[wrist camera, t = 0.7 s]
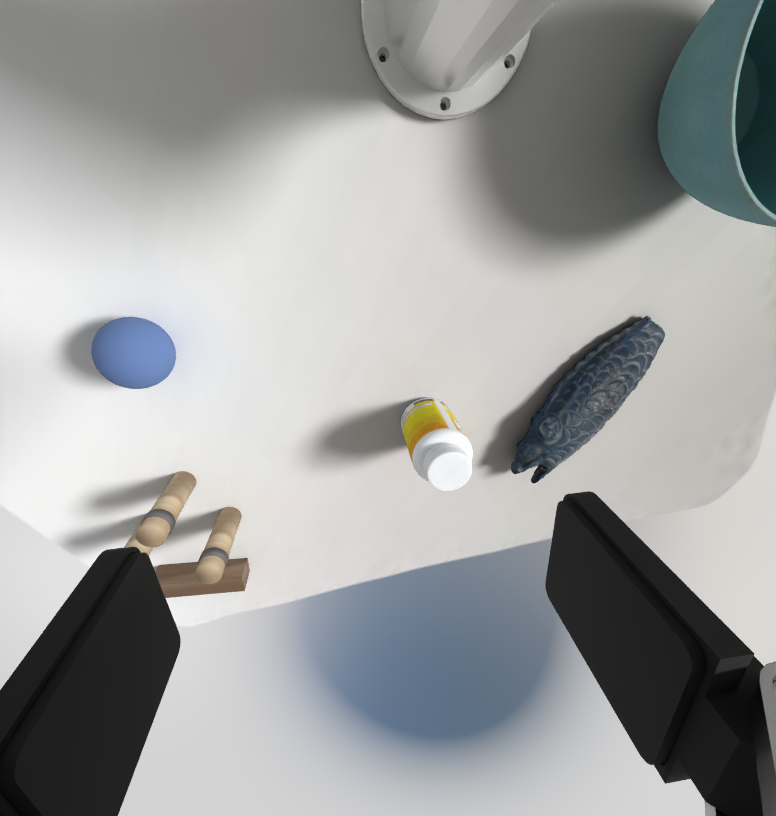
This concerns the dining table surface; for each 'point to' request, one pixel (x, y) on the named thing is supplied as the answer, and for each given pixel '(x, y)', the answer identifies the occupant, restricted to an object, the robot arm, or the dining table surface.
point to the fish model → (587, 398)
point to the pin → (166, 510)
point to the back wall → (183, 582)
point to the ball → (133, 352)
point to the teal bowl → (725, 111)
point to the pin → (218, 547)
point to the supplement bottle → (437, 444)
